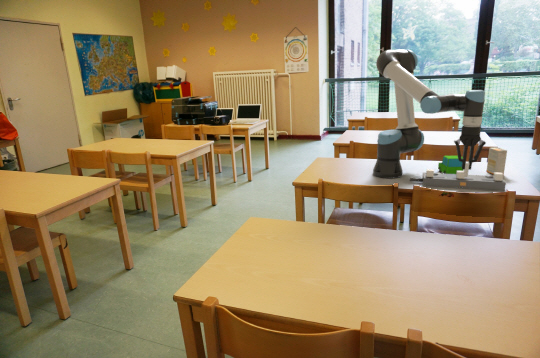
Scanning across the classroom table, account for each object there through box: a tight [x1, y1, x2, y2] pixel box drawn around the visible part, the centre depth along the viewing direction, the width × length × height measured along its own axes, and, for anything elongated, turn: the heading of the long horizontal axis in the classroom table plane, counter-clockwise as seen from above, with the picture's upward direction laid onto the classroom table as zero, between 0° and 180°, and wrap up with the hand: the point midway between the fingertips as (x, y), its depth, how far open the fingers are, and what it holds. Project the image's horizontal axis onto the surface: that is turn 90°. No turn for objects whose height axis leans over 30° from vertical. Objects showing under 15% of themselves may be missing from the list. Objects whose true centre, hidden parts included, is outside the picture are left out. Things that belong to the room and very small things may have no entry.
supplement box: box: [486, 146, 508, 176], centre depth 189 cm, size 8×5×13 cm, turn 179°
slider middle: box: [456, 170, 465, 179], centre depth 171 cm, size 3×3×3 cm
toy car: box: [437, 155, 464, 174], centre depth 192 cm, size 10×13×10 cm
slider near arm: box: [425, 168, 435, 177], centre depth 175 cm, size 3×3×3 cm
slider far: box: [492, 172, 504, 181], centre depth 166 cm, size 3×3×3 cm
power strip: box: [409, 172, 507, 192], centre depth 174 cm, size 40×10×4 cm, turn 70°
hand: (465, 176), depth 170 cm, fingers closed
